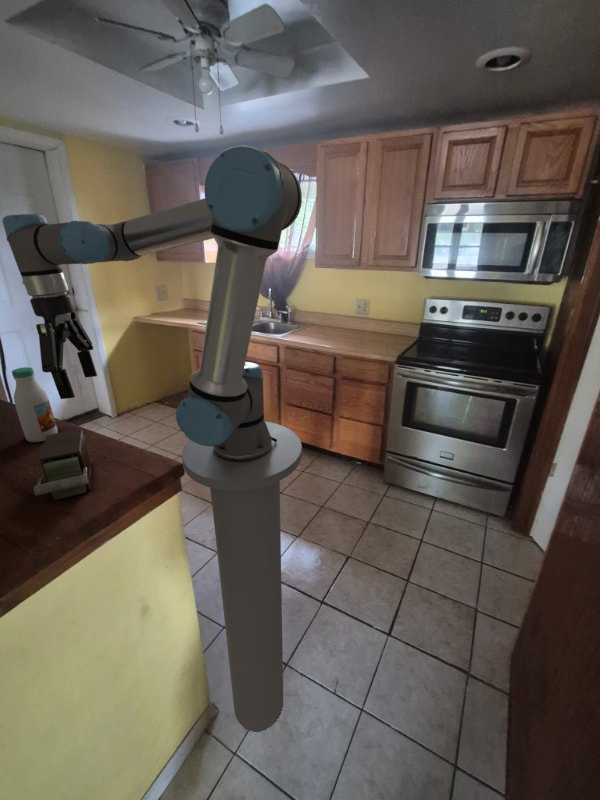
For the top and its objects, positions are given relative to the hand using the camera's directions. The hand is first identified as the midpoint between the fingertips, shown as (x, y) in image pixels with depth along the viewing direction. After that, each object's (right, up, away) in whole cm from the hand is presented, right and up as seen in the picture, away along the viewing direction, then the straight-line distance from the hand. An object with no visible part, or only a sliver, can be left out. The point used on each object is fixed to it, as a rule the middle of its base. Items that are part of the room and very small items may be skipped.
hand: (80, 386), depth 88 cm
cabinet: (0, -22, -2) cm, 22 cm away
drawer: (+2, -23, -7) cm, 24 cm away
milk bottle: (-21, -14, +17) cm, 30 cm away
